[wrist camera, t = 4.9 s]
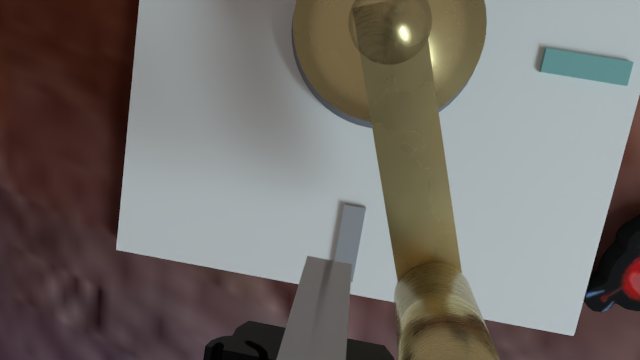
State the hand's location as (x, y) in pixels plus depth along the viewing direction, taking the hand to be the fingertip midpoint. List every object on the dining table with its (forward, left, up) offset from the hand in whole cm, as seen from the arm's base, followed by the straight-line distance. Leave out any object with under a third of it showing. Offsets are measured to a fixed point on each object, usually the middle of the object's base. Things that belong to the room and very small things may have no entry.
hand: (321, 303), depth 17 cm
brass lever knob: (-5, +2, -6) cm, 8 cm away
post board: (-8, +1, -12) cm, 14 cm away
